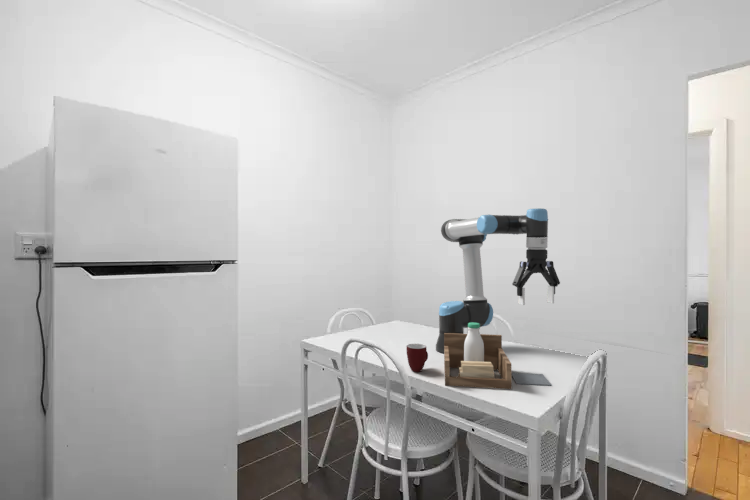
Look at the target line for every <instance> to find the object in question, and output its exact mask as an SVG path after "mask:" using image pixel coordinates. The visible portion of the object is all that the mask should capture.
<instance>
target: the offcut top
mask: <svg viewBox="0 0 750 500" xmlns="http://www.w3.org/2000/svg"><path fill="white" fill-rule="evenodd" d="M461 369H462V372H471V373H493V372H494V370H493V365H492V363H491V362H478V361H461Z"/></svg>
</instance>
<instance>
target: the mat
mask: <svg viewBox="0 0 750 500" xmlns="http://www.w3.org/2000/svg"><path fill="white" fill-rule="evenodd" d="M511 378H512V380H514V382H515V384H516V385H527V386H544V387H545V386H548V387H552V383H551V382H550V381H549V380H548V378H547V377H546V376H545V375H544V374H543V373H536V372H535V373H534V372H533V373H531V372H512V371H511Z"/></svg>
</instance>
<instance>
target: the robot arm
mask: <svg viewBox="0 0 750 500" xmlns="http://www.w3.org/2000/svg"><path fill="white" fill-rule="evenodd" d="M548 227H549V215H548V210H547V208H529V209H527V210H526V214H525V215H524V214H523V215H510V214H509V215H507V214H506V215H505V214H504V215H503V214H502V215H501V214H481V215H480V216H478V217H474V218H467V219H466V218H464V219H463V218H462V219H461V218H458V219H457V218H452V219H448V220H446V221H445V222H444V223H442V225H441V227H440V232H441V233H440V234H441V236H442V237H443V239H445V240H446V241H448V242H451V243H458V246H459V248H461V250H462V259H463V260H462V261H463V271H464V272H463V275H464V286H465V287H464V290H465V297H464V298H463V300H451V301H446V302H442V303H441V304H440V305H439V310H438V316H439V318H438V319H439V320H438V323H439V324H438V325H439V326H438V328H439V329H438V330H439V331H438V333H439V334H438V337H437V340H436V343H435V350H436V351H437V352H439V353H441V354H444V333H459V334H465V331H464V329H466V328H467V329H468V323H471V322H474V323H479V324H480V328H481V327H482V328H483V327H487V326H489V325H491V322H492V321H493V318H494V309H493V308H494V307H493V306H492V305H491V303H489V301H488V298H486V296H485V295H484V283H483V281H484V280H483V272H482V260H481V259H482V258H481V257H482V256H481V248H482V246H483V245H484V244H483V242H486V239H487V236H488V235H498V234H499V235H501V234H502V235H525V234H526V242H525V243H526V244H525V247H526V248H527V249H526V251H525V253H526V254H525V255H526V257H525V258H526V259H527V260H526V261H520V262H519V267H518V269H517V272H516V274H515V276H514V279H513V281H512V283H511V284H512V286H514V287H515V288H516V296H518V298H517V299H518V301H517V302H518V305H521V306H525V305H526V303H525V301H526V299H525V298H526V288H525V287H524V286H525V285H526V283H527V282H528V280H529V279H530V277H531V276H532V275H533V274H541V275H542V276H543V278H544V280H545V281H546V282H547V283H548V285H547V288H546V289H547V294H546V295H547V298H546V299H547V300H546V301H547V303H550V304H555V294H556V287H558V286H559V285H560V284H561V281H560V279H559V277H558V275H557V272H556V269H555V267H554V265H555V264H554V261H552V260H547V259H548V249H547V248H548V242H549V241H548V238H549V236H548V232H549V231H548V230H549V229H548Z"/></svg>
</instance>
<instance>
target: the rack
mask: <svg viewBox="0 0 750 500" xmlns="http://www.w3.org/2000/svg"><path fill="white" fill-rule="evenodd" d="M467 334H468V333H464V334H459V333H444V353H443V354H444V355H443V356H444V359H443V361H444V363H443V364H444V366H443V367H444V386H447V387H448V386H449V387H464V388H466V387H467V388H479V389H480V388H484V389H500V390H512V389H513V387H512V375H511V372H512V362H511V361H510V359H509V357H508V356H507V354H506V353H505V351H504V349H503V335H502V334H488V333H487V334H486V333H485V334H483V333H480V335H481V338H482V340H483V343H484V362H491V363H492V365H493V371H498V373H499V375H500V378H497V377H496V378H495V377H494V378H478V377H459V376H458V375H450V368H451V369H459V367H461V361H464V342H465V339H466V337H467Z"/></svg>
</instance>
